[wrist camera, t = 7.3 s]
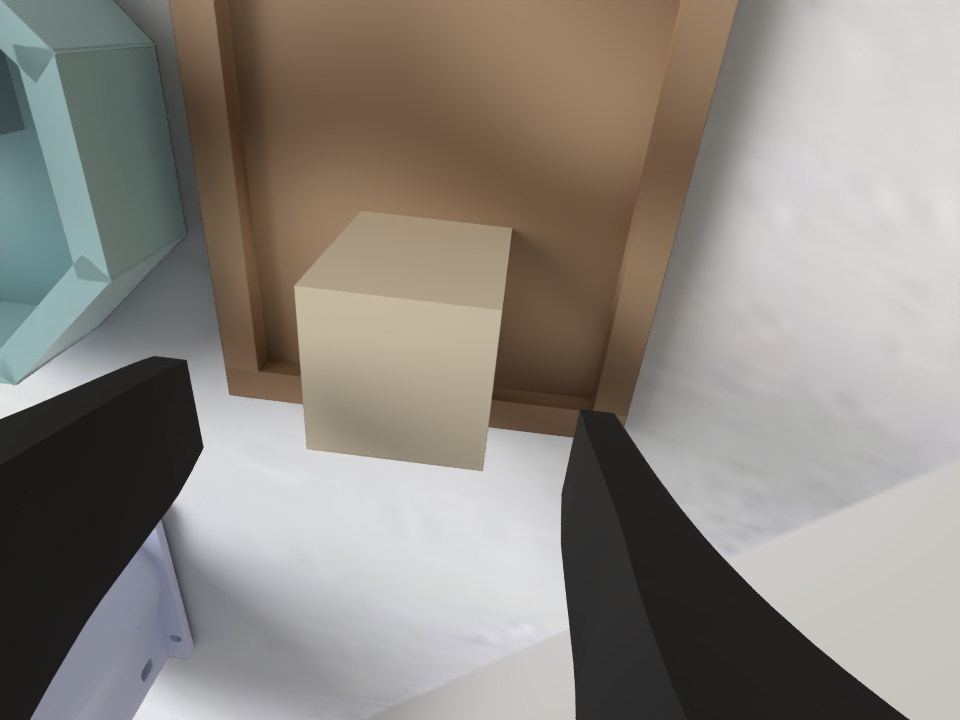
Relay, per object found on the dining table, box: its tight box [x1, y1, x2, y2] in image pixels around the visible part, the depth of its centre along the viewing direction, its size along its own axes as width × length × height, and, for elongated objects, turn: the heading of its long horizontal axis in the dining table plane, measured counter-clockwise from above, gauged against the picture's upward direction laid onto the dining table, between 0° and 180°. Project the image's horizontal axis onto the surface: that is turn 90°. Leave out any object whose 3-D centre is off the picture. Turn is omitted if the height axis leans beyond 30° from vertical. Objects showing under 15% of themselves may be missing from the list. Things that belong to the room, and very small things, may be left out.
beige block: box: [294, 211, 512, 471], centre depth 14 cm, size 4×4×5 cm
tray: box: [169, 0, 738, 438], centre depth 15 cm, size 15×12×1 cm
